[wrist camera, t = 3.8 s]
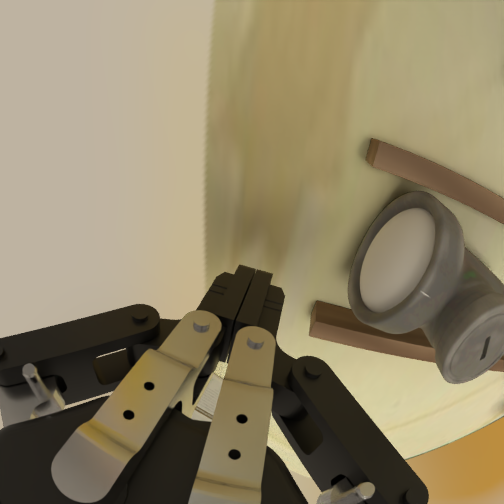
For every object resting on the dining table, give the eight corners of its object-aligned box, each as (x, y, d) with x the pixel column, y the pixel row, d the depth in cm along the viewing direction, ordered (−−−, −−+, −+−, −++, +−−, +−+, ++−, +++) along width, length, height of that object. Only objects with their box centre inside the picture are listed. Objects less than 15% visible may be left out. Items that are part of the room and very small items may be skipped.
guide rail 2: (316, 300, 22) (315, 321, 19) (508, 346, 19) (517, 362, 17) (310, 314, 22) (308, 335, 20) (501, 356, 20) (508, 372, 18)
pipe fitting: (331, 270, 20) (364, 387, 10) (396, 173, 16) (496, 234, 7) (432, 325, 21) (478, 414, 12) (487, 255, 18) (558, 327, 9)
